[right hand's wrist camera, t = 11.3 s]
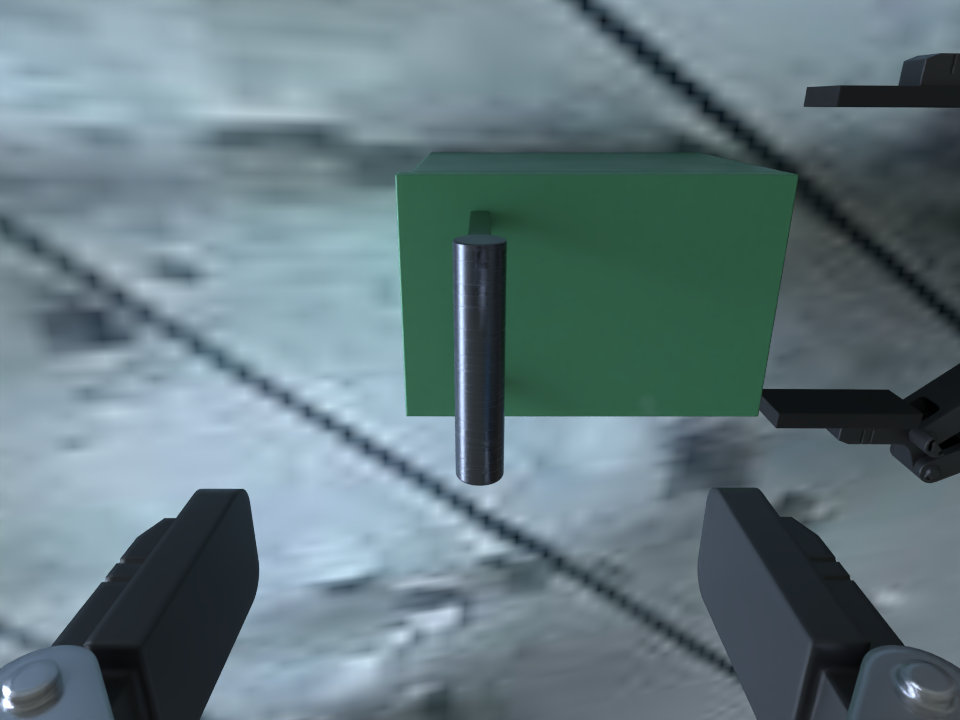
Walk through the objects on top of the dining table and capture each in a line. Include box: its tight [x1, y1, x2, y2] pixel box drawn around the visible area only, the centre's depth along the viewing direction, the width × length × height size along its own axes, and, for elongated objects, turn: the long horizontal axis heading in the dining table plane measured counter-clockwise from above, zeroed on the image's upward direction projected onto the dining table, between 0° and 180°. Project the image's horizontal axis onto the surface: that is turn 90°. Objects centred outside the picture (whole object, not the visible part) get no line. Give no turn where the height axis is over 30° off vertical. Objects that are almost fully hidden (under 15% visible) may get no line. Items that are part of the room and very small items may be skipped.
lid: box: [395, 172, 799, 486], centre depth 22 cm, size 14×9×8 cm
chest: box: [412, 153, 782, 172], centre depth 30 cm, size 14×9×10 cm
